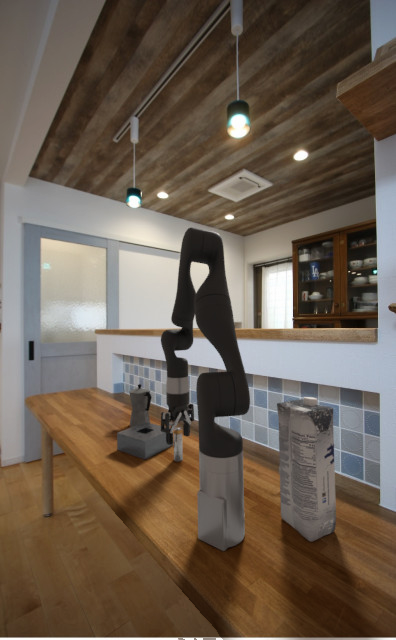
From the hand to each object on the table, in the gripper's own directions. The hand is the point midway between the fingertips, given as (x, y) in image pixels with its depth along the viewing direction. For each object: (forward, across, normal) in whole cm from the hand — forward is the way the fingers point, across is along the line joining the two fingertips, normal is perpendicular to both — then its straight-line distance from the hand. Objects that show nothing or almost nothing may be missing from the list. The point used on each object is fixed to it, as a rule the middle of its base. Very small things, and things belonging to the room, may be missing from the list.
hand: (178, 439), depth 95 cm
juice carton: (+6, -9, -43) cm, 45 cm away
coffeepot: (+7, +16, +35) cm, 39 cm away
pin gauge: (+6, 0, 0) cm, 6 cm away
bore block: (+6, 0, +16) cm, 17 cm away
